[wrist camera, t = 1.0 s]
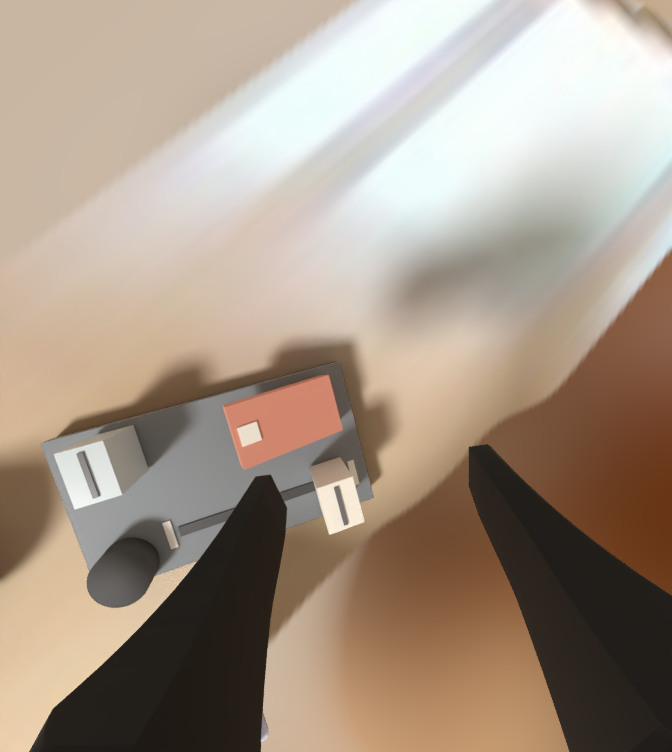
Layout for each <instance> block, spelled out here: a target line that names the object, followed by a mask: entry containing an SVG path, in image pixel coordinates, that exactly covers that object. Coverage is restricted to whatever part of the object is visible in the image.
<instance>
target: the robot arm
mask: <svg viewBox="0 0 672 752" xmlns="http://www.w3.org/2000/svg"><path fill="white" fill-rule="evenodd" d="M469 487H470V490H471V493H472V497H473V500H474V503H475V506H476V508H477V511H478V514H479V516H480V519H481V521H482V523H483V525H484V528H485V530H486V532H487V534H488V536H489V539H490V541H491V543H492V545H493V547H494V549H495V552H496V554H497V556H498V558H499V560H500V562H501V565H502V566H503V569H504V571H505V573H506V575H507V578H508V580H509V582H510V584H511V586H512V589H513V591H514V594H515V596H516V598H517V601H518V604H519V606H520V609H521V612H522V615H523V617H524V620H525V623H526V626H527V628H528V631H529V634H530V636H531V639H532V642H533V645H534V648H535V651H536V653H537V656H538V659H539V662H540V665H541V668H542V670H543V674H544V677H545V679H546V682H547V685H548V688H549V691H550V694H551V697H552V700H553V703H554V706H555V709H556V712H557V715H558V718H559V721H560V724H561V727H562V730H563V733H564V736H565V739H566V742H567V745H568V748H569V751H570V752H672V596H671V595H670V594H669V593H667V592H665V591H664V590H663V589H661V588H660V587H658V586H657V585H655V584H654V583H652V582H651V581H649V580H648V579H646V578H645V577H643V576H642V575H640V574H639V573H637V572H635V571H634V570H633V569H631V568H630V567H628V566H627V565H626V564H625V563H623V562H622V561H620V560H619V559H618V558H616V557H615V556H614V555H612V554H611V553H609V552H608V551H607V550H605V549H604V548H602V547H601V546H600V545H599V544H597V543H596V542H595V541H594V540H592V539H591V538H590V537H588V536H587V535H586V534H584V533H583V532H582V531H581V530H580V529H578V528H577V527H576V526H575V525H573V524H572V523H571V522H570V521H569V520H567V519H566V518H565V517H564V516H563V515H561V514H560V513H559V512H558V511H557V510H556V509H554V508H553V507H552V506H551V505H550V504H549V503H548V502H547V501H545V500H544V499H543V498H542V497H541V496H540V495H539V494H538V493H537V492H536V491H535V490H533V489H532V488H531V487H530V486H529V485H528V484H527V483H526V482H525V481H524V480H523V479H522V478H521V477H520V476H519V475H518V474H517V473H516V472H514V471H513V469H511V468H510V466H509V465H508V464H507V463H506V462H505V461H504V460H503V459H502V458H501V457H500V456H499V455H498V454H497V453H496V452H495V451H494V450H493V449H492V448H491V446H489V445H479V446H472V447H469ZM286 520H287V507H286V504H285V502H284V500H283V498H282V496H281V494H280V492H279V490H278V488H277V486H276V484H275V482H274V480H273V478H272V476H271V474H270V475H263V476H256V477H255V478H254V479H253V481H252V482H251V484H250V486H249V487H248V489H247V490H246V492H245V493H244V495H243V496H242V498H241V500H240V501H239V503H238V504H237V506H236V507H235V509H234V510H233V512H232V513H231V515H230V516H229V518H228V519H227V521H226V522H225V524H224V525H223V527H222V528H221V530H220V531H219V533H218V534H217V535H216V537H215V538H214V540H213V541H212V542H211V544H210V545H209V546H208V548H207V549H206V551H205V552H204V553H203V555H202V556H201V557H200V559H199V560H198V561H197V563H196V564H195V565H194V566H193V568H192V569H191V570H190V572H189V573H188V574H187V575H186V576H185V578H184V579H183V580H182V581H181V583H180V584H179V585H178V586H177V587H176V589H175V590H174V591H173V592H172V593H171V594H170V595H169V597H168V598H167V599H166V600H165V601H164V602H163V603H162V604H161V605H160V606H159V608H158V609H157V610H156V611H155V612H154V613H153V614H152V615H151V616H150V617H149V618H148V619H147V621H146V622H145V623H144V624H143V625H142V626H141V627H140V628H139V629H138V630H137V631H136V632H135V633H134V634H133V635H132V636H131V637H130V638H129V639H128V640H127V641H126V642H125V643H124V644H123V645H122V646H121V647H120V648H119V649H118V650H117V651H116V652H115V653H114V654H113V655H112V656H111V657H110V658H109V659H108V660H107V661H106V662H104V663H103V664H102V665H101V666H100V667H99V668H98V669H97V670H96V671H95V672H94V673H93V674H91V675H90V676H89V677H88V678H87V679H86V680H85V681H84V682H83V683H81V684H80V685H79V686H78V687H77V688H76V689H75V690H74V691H73V692H71V693H70V694H69V695H68V696H67V697H66V698H65V699H64V700H63V701H61V702H60V703H59V704H58V705H57V706H56V707H54V708H53V710H52V712H51V713H50V715H49V717H48V719H47V720H46V722H45V724H44V726H43V728H42V730H41V731H40V733H39V735H38V737H37V739H36V740H35V742H34V744H33V746H32V748H31V749H30V751H29V752H261V742H262V741H264V740H265V739H266V738H267V737H268V726H267V723H266V720H265V717H264V715H263V697H264V681H265V670H266V658H267V647H268V637H269V627H270V618H271V611H272V605H273V599H274V594H275V588H276V583H277V578H278V573H279V567H280V562H281V557H282V551H283V546H284V540H285V533H286Z"/></svg>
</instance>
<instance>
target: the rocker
mask: <svg viewBox="0 0 672 752" xmlns="http://www.w3.org/2000/svg"><path fill="white" fill-rule="evenodd" d="M222 406H223V409H224V413H225V416H226V419H227V422H228V426H229V429H230V432H231V435H232V439H233V442H234V445H235V449H236V452H237V455H238V458H239V462H240V465H241V466H242V468H243V469H244V470H246V469H248V468H251V467H253V466H256V465H258V464H261V463H263V462H266V461H268V460H270V459H273V458H275V457H278V456H280V455H283V454H285V453H288V452H290V451H293V450H295V449H298V448H300V447H302V446H305V445H307V444H310V443H312V442H315V441H317V440H320V439H322V438H325V437H327V436H330V435H332V434H335V433H337V432H339V431H342V430H343V428H342V424H341V420H340V416H339V412H338V409H337V405H336V401H335V397H334V393H333V389H332V385H331V381H330V378H329V375H319V376H316V377H313V378H309V379H306V380H303V381H300V382H297V383H293V384H290V385H287V386H284V387H280V388H277V389H274V390H271V391H267V392H264V393H261V394H258V395H254V396H251V397H248V398H245V399H241V400H238V401H235V402H232V403H228V404H225V405H222Z"/></svg>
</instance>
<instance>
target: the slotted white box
mask: <svg viewBox="0 0 672 752" xmlns="http://www.w3.org/2000/svg"><path fill="white" fill-rule="evenodd" d="M54 457H55V460H56V462H57V465H58V467H59V470H60V473H61V475H62V478H63V480H64V483H65V486H66V488H67V491H68V494H69V496H70V499H71V501H72V504H73V507H74V509H78V508H82V507H85V506H88V505H91V504H95V503H98V502H101V501H104V500H107V499H111V498H114V497H117V496H120V495H123V494H124V493H125V492H126V491H127V490H128V489H129V488H130V487H131V486H132V485H133V484H134V483H135V482H136V481H138V480H139V479H140V478H141V477H142V476H143V475H144V474H145V473H146V472H147V471H148V470H149V469H148V466H147V463H146V460H145V457H144V454H143V451H142V448H141V446H140V443H139V440H138V437H137V434H136V431H135V428H134V425H131V426H127V427H124V428H120V429H116V430H113V431H109V432H105V433H102V434H98V435H94V436H92V437H90V438H88V439H86V440H83V441H81V442H79V443H77V444H75V445H73V446H70V447H68V448H66V449H64V450H62V451H60V452H57V453H55V454H54Z"/></svg>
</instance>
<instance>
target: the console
mask: <svg viewBox="0 0 672 752" xmlns="http://www.w3.org/2000/svg"><path fill="white" fill-rule="evenodd" d="M319 375H329V378H330V381H331V385H332V389H333V393H334V397H335V401H336V405H337V409H338V412H339V416H340V420H341V424H342V428H343V430H342V431H339V432H337V433H335V434H332V435H330V436H327V437H325V438H322V439H320V440H317V441H315V442H312V443H310V444H307V445H305V446H302V447H300V448H298V449H295V450H293V451H290V452H288V453H285V454H283V455H280V456H278V457H275V458H273V459H270V460H268V461H266V462H263V463H261V464H258V465H256V466H253V467H251V468H248V469H246V470H244V469H243V468H242V466H241V465H240V462H239V458H238V455H237V452H236V449H235V445H234V442H233V439H232V435H231V432H230V429H229V426H228V422H227V419H226V416H225V413H224V409H223V406H222V405H225V404H228V403H232V402H235V401H238V400H241V399H245V398H248V397H251V396H254V395H258V394H261V393H264V392H267V391H271V390H274V389H277V388H280V387H284V386H287V385H290V384H293V383H297V382H300V381H303V380H306V379H309V378H313V377H316V376H319ZM131 425H134V428H135V431H136V434H137V437H138V440H139V443H140V446H141V448H142V451H143V454H144V457H145V460H146V463H147V466H148V469H149V470H148V471H147V472H146V473H145V474H144V475H143V476H142V477H141V478H140V479H139V480H138V481H136V482H135V483H134V484H133V485H132V486H131V487H130V488H129V489H128V490H127V491H126V492H125V493H124V494H123V495H120V496H117V497H114V498H111V499H107V500H104V501H101V502H98V503H95V504H91V505H88V506H85V507H82V508H78V509H74V507H73V504H72V501H71V499H70V496H69V494H68V491H67V488H66V486H65V483H64V480H63V478H62V475H61V473H60V470H59V467H58V465H57V462H56V460H55V457H54V454H55V453H57V452H60V451H62V450H64V449H66V448H68V447H70V446H73V445H75V444H77V443H79V442H81V441H83V440H86V439H88V438H90V437H92V436H94V435H98V434H102V433H105V432H109V431H113V430H116V429H120V428H124V427H127V426H131ZM40 444H41V447H42V449H43V452H44V454H45V457H46V460H47V462H48V465H49V467H50V470H51V473H52V475H53V478H54V480H55V483H56V485H57V488H58V491H59V493H60V496H61V498H62V501H63V504H64V506H65V509H66V511H67V514H68V517H69V519H70V522H71V524H72V527H73V530H74V532H75V535H76V537H77V540H78V543H79V545H80V548H81V550H82V553H83V556H84V558H85V561H86V563H87V566H88V569H89V571H90V570H91V568H92V567H93V566H94V564H95V563H96V562H97V561H98V560H99V559H100V557H101V556H102V555H103V554H104V553H105V551H106V550H107V549H108V548H109V547H110V546H111V545H113V544H114V543H116V542H118V541H120V540H123V539H127V538H138V539H143V540H145V541H147V542H149V543H150V544H152V545H153V546H154V547H155V549H156V550H157V552H158V555H159V567H158V570H157V572H156V574H155V576H156V575H159V574H162V573H165V572H168V571H170V570H173V569H176V568H179V567H181V566H184V565H187V564H190V563H193V562H195V561H198V560H199V559H200V557H201V556H202V555H203V553H204V552H205V551H206V549H207V548H208V546H209V545H210V544H211V542H212V541H213V540H214V538H215V537H216V535H217V534H218V533H219V531H220V530H221V528H222V527H223V525H224V524H225V522H226V521H227V519H228V518H229V516H230V515H231V513H232V512H233V510H234V509H235V507H236V506H237V504H238V503H239V501H240V500H241V498H242V496H243V495H244V493H245V492H246V490H247V489H248V487H249V486H250V484H251V482H252V481H253V479H254V478H255V477H256V476H263V475H270V474H271V476H272V478H273V480H274V482H275V484H276V486H277V488H278V490H279V492H280V494H281V496H282V498H283V500H284V502H285V504H286V507H287V520H286V529H288V528H290V527H293V526H296V525H299V524H302V523H304V522H307V521H310V520H313V519H315V518H318V517H321V516H323V513H322V510H321V507H320V503H319V500H318V496H317V493H316V489H315V485H314V482H313V478H312V475H311V471H310V467H311V466H314V465H317V464H320V463H323V462H326V461H329V460H332V459H335V458H338V457H340V458H341V459H342V461H343V462H344V464H345V465H346V467H347V468H348V470H349V471H350V473H351V474H352V476H353V479H354V483H355V487H356V491H357V495H358V498H359V502H363V501H366V500H369V499H371V498H374V496H373V492H372V488H371V484H370V480H369V476H368V472H367V468H366V464H365V460H364V456H363V452H362V448H361V444H360V440H359V437H358V433H357V429H356V425H355V421H354V417H353V413H352V409H351V405H350V401H349V397H348V393H347V389H346V385H345V381H344V377H343V373H342V369H341V365H340V362H333V363H329V364H325V365H322V366H318V367H314V368H311V369H307V370H303V371H300V372H296V373H292V374H288V375H285V376H281V377H277V378H274V379H270V380H266V381H263V382H259V383H255V384H251V385H248V386H244V387H240V388H237V389H233V390H229V391H226V392H222V393H218V394H214V395H211V396H207V397H203V398H200V399H196V400H192V401H189V402H185V403H181V404H177V405H174V406H170V407H166V408H163V409H159V410H155V411H152V412H148V413H144V414H140V415H137V416H133V417H129V418H126V419H122V420H118V421H115V422H111V423H107V424H104V425H100V426H96V427H92V428H89V429H85V430H81V431H78V432H74V433H70V434H67V435H63V436H59V437H56V438H53V439H51V440H48V441H45V442H43V443H40Z"/></svg>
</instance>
